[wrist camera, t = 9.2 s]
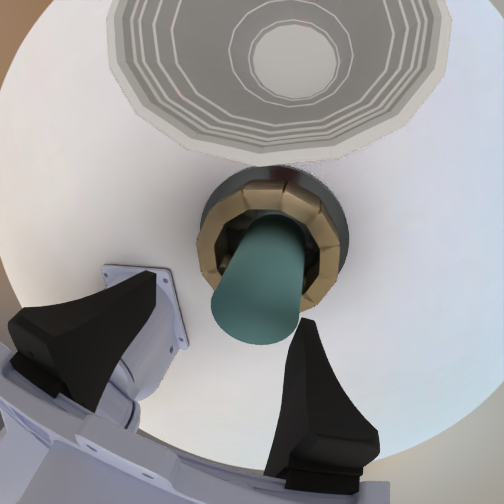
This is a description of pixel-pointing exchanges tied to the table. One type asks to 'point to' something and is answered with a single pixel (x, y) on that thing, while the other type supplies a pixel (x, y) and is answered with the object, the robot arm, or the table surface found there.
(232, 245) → the ring holder
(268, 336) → the peg
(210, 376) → the table surface
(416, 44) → the plastic cup
